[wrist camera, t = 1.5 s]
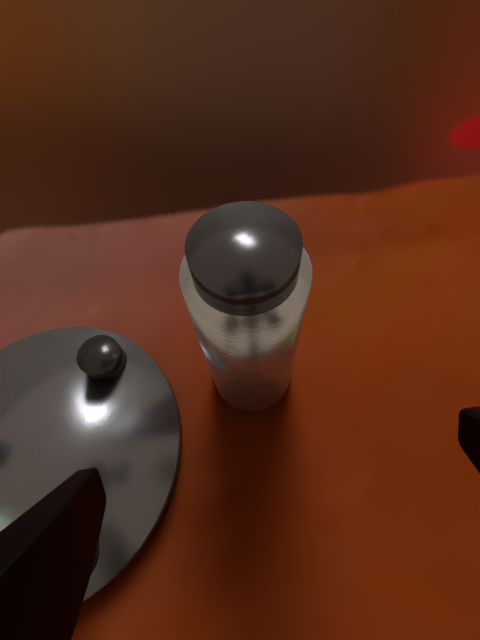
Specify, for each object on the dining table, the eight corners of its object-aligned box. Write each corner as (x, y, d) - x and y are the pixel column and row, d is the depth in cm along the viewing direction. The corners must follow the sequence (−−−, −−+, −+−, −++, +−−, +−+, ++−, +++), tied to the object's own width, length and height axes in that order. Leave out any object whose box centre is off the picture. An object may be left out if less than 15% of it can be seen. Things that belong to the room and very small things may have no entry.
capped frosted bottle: (269, 425, 21) (278, 331, 10) (199, 389, 22) (140, 269, 11) (302, 357, 23) (340, 217, 12) (236, 328, 24) (216, 177, 13)
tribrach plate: (55, 708, 15) (21, 741, 13) (-148, 512, 20) (-199, 512, 18) (230, 396, 22) (226, 383, 20) (48, 301, 26) (28, 282, 24)
